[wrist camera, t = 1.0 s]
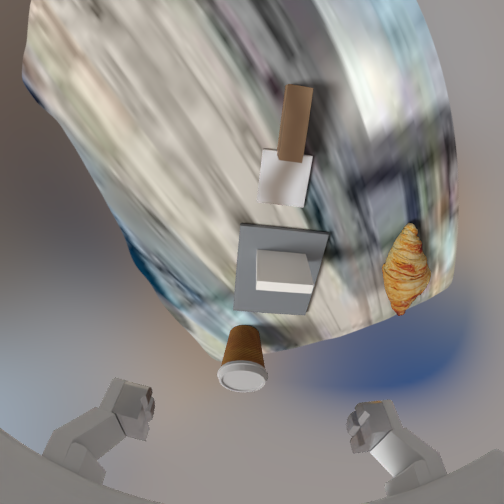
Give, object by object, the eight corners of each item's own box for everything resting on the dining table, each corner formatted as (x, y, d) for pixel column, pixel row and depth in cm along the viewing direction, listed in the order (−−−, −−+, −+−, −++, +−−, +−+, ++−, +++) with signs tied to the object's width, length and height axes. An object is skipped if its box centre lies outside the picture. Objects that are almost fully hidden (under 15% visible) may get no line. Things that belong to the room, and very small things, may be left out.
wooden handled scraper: (321, 91, 31) (329, 91, 28) (302, 205, 40) (307, 217, 37) (270, 83, 31) (272, 81, 27) (256, 200, 40) (256, 211, 37)
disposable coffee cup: (276, 331, 56) (278, 379, 46) (249, 352, 60) (248, 397, 50) (238, 312, 53) (235, 363, 43) (213, 336, 57) (207, 383, 47)
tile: (257, 249, 44) (257, 280, 37) (305, 254, 44) (313, 285, 37) (255, 258, 45) (255, 290, 38) (303, 262, 45) (311, 294, 38)
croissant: (384, 213, 44) (380, 235, 39) (436, 216, 39) (440, 240, 34) (381, 300, 55) (376, 326, 50) (423, 304, 50) (421, 331, 44)
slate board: (240, 223, 42) (240, 225, 41) (327, 232, 43) (328, 234, 42) (233, 307, 52) (233, 310, 51) (304, 312, 52) (305, 315, 52)
